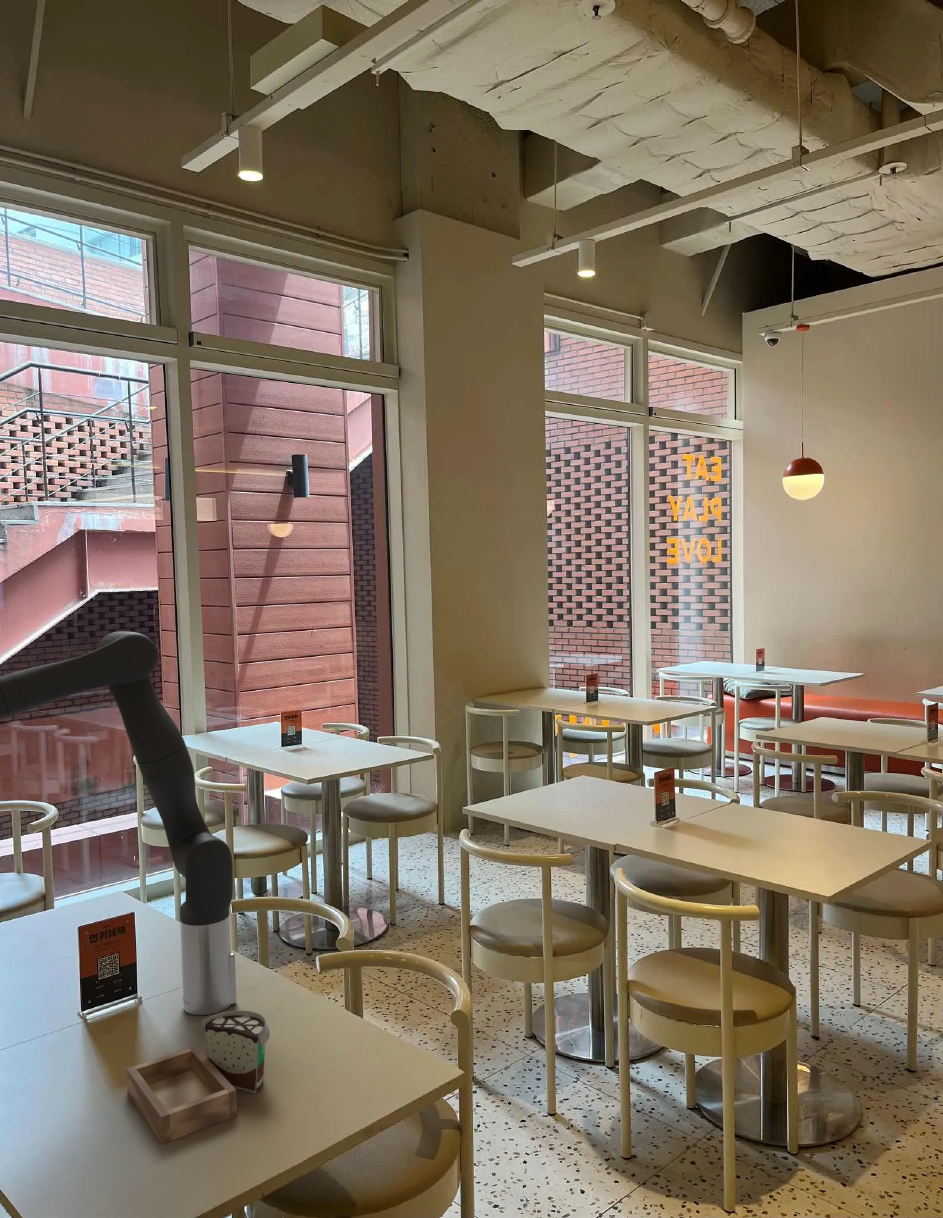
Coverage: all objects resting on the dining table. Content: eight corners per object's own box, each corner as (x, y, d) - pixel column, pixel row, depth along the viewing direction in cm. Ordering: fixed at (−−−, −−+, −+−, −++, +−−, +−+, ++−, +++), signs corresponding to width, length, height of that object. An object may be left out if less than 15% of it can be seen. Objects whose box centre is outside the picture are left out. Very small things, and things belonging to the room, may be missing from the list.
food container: (286, 1076, 153) (284, 1016, 153) (263, 1095, 147) (261, 1033, 147) (227, 1061, 158) (225, 1004, 158) (202, 1079, 152) (200, 1019, 152)
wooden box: (197, 1069, 156) (196, 1046, 156) (237, 1115, 142) (236, 1090, 142) (127, 1093, 149) (126, 1068, 149) (162, 1144, 135) (161, 1117, 135)
